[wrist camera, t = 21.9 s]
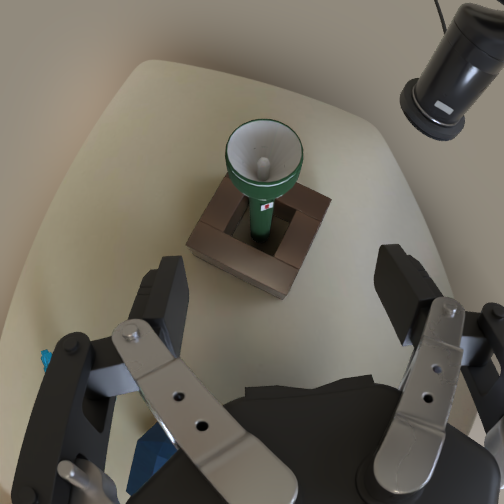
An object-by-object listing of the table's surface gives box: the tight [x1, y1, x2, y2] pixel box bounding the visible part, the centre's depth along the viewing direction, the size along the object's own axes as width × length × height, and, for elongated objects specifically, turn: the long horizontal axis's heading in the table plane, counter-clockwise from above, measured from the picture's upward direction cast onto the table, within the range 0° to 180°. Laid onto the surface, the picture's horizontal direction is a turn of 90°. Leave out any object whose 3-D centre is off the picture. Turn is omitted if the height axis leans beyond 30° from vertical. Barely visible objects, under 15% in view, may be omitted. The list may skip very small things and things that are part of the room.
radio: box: [126, 422, 178, 496], centre depth 23 cm, size 21×9×20 cm, turn 74°
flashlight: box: [225, 119, 303, 243], centre depth 30 cm, size 5×5×20 cm
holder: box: [186, 172, 332, 300], centre depth 37 cm, size 12×12×5 cm
